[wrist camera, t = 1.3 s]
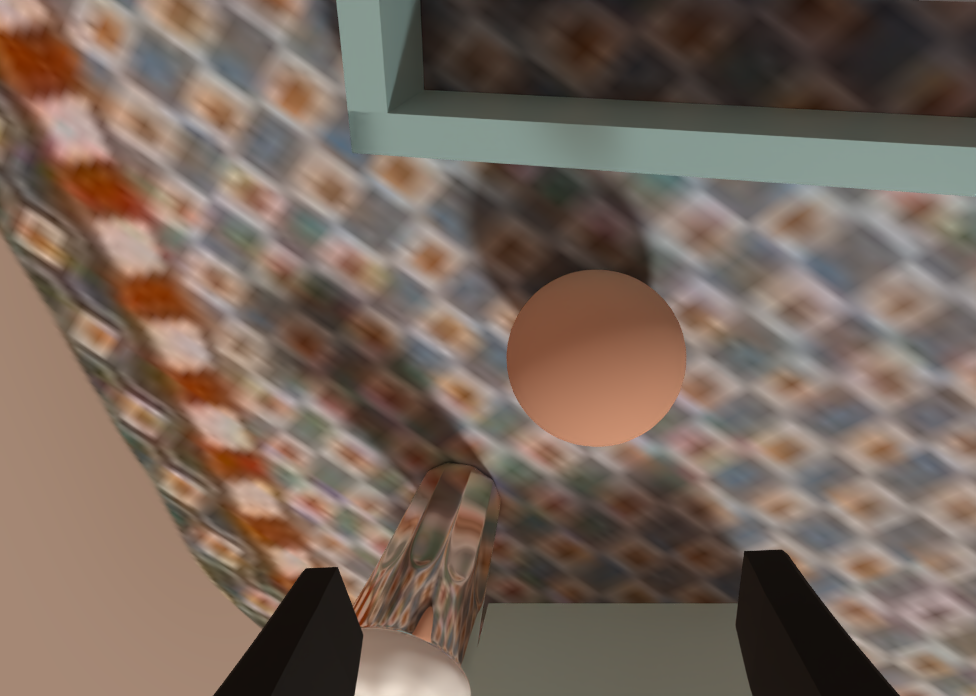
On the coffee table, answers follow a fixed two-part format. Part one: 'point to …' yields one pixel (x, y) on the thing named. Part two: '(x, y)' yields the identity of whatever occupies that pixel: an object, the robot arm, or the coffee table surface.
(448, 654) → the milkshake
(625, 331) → the ball
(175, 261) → the coffee table surface
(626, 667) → the right angle wall
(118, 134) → the coffee table surface
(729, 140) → the divider wall
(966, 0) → the tray
